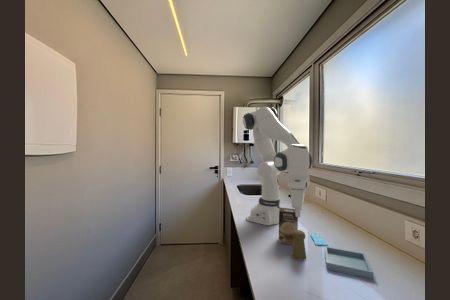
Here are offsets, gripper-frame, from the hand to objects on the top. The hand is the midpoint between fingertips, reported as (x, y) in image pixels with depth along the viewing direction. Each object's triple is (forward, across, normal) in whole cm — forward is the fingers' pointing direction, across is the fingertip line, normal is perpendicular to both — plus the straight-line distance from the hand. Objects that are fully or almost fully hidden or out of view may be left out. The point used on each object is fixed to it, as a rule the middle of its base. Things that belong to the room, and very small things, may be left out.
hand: (298, 213), depth 86 cm
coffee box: (+19, -12, -6) cm, 24 cm away
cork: (+19, 0, 0) cm, 19 cm away
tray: (+19, -2, +18) cm, 26 cm away
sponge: (+20, -20, +8) cm, 29 cm away
